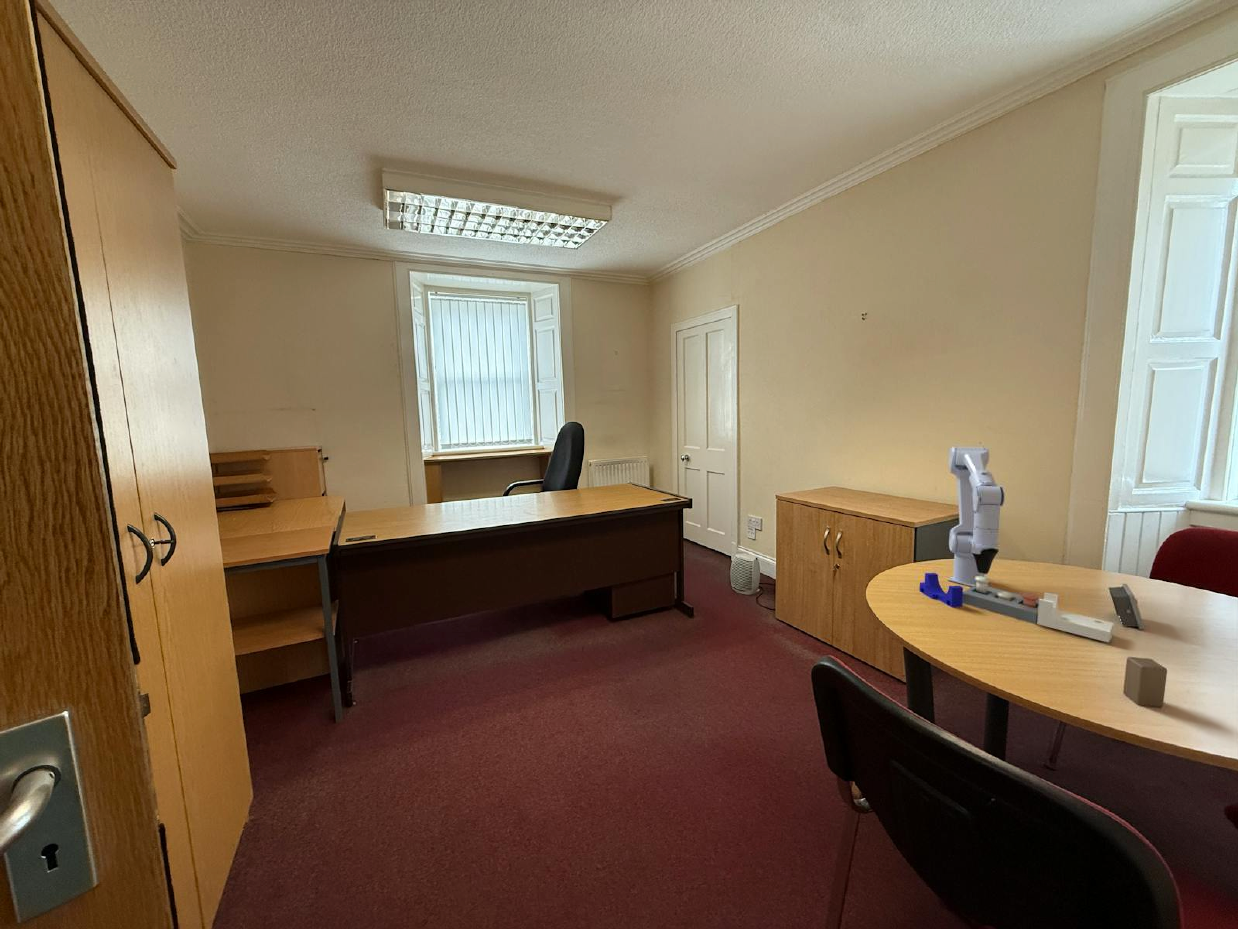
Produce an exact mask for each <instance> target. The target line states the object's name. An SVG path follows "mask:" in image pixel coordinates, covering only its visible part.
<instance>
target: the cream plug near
mask: <svg viewBox="0 0 1238 929" xmlns="http://www.w3.org/2000/svg"><path fill="white" fill-rule="evenodd" d="M975 580H976V581H977V585H976V590H977V591H979V592H984V593H986V592H987V589H988V587H989V584H990V583H991V579H990V578H989V577H986V576H984V577H982V576H976V577H975Z"/></svg>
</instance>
